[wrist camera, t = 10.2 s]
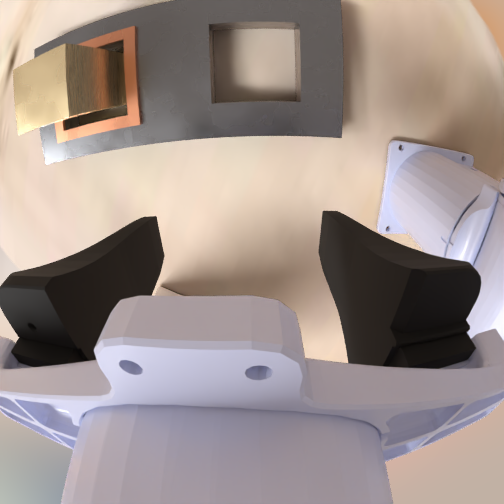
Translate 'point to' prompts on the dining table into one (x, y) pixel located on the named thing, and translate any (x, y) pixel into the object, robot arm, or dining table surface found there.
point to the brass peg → (67, 85)
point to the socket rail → (205, 75)
